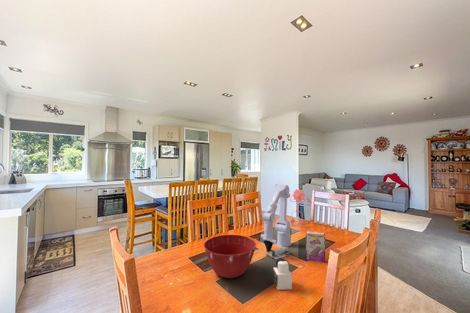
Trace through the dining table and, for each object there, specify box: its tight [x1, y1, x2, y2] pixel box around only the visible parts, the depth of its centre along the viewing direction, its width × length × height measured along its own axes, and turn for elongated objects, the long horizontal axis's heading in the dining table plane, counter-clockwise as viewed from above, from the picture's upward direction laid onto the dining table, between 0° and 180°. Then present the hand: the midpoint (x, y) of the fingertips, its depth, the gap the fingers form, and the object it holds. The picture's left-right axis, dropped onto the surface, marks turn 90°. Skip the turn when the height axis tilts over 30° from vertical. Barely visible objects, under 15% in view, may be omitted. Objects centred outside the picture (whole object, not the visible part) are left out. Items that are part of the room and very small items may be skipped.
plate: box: [266, 253, 289, 261], centre depth 133 cm, size 10×9×1 cm
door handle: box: [269, 246, 289, 256], centre depth 134 cm, size 14×4×3 cm, turn 120°
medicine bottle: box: [272, 258, 293, 291], centre depth 101 cm, size 7×7×12 cm
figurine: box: [287, 188, 312, 227], centre depth 204 cm, size 15×26×35 cm, turn 51°
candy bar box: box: [305, 231, 326, 263], centre depth 129 cm, size 11×5×16 cm, turn 71°
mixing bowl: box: [203, 234, 257, 279], centre depth 114 cm, size 28×28×15 cm
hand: (268, 251), depth 136 cm, fingers closed
